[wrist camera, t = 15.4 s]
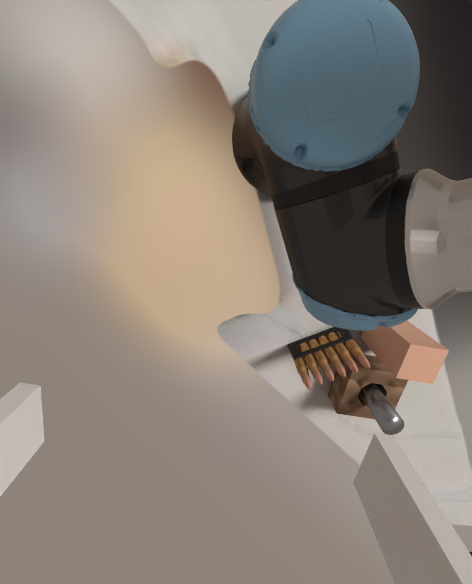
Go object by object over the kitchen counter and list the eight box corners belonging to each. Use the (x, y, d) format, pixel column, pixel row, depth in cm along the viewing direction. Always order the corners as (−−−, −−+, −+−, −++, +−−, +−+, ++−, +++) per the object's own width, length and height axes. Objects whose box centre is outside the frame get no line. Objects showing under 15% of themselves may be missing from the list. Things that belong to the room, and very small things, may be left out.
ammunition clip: (290, 352, 52) (305, 395, 40) (287, 344, 51) (301, 385, 40) (346, 332, 50) (377, 371, 39) (343, 323, 50) (374, 360, 38)
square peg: (370, 310, 49) (410, 344, 37) (399, 315, 49) (448, 350, 38) (360, 337, 51) (396, 377, 39) (388, 342, 51) (432, 383, 39)
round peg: (354, 368, 53) (386, 415, 41) (371, 371, 53) (407, 418, 41) (348, 383, 54) (378, 433, 42) (365, 386, 54) (399, 436, 43)
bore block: (343, 351, 51) (354, 366, 47) (394, 359, 52) (410, 375, 47) (328, 394, 55) (336, 413, 50) (376, 402, 55) (389, 421, 50)
